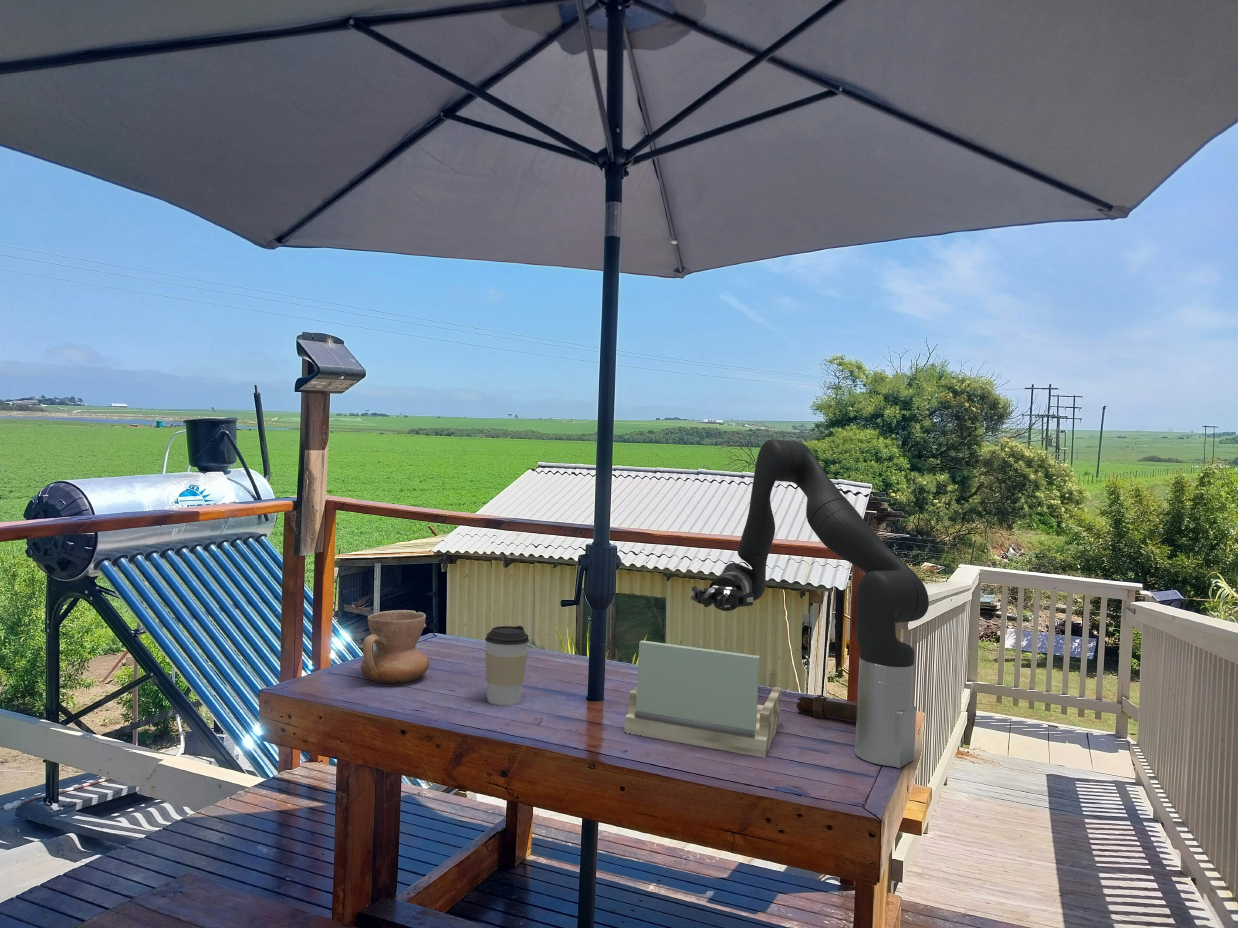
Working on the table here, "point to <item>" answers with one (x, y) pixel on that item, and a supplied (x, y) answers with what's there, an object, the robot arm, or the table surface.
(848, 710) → the bolt
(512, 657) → the coffee cup
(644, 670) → the panel
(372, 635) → the ceramic jug
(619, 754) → the table surface
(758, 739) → the cart bed
